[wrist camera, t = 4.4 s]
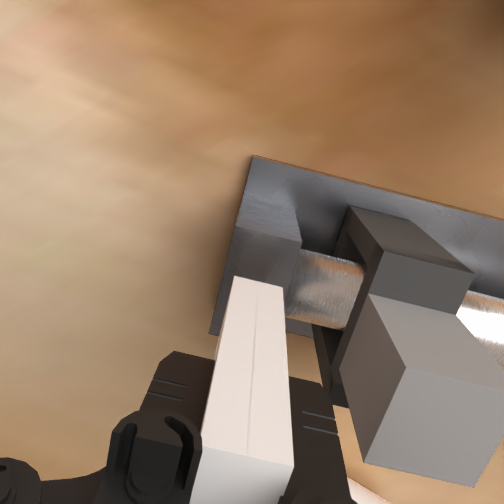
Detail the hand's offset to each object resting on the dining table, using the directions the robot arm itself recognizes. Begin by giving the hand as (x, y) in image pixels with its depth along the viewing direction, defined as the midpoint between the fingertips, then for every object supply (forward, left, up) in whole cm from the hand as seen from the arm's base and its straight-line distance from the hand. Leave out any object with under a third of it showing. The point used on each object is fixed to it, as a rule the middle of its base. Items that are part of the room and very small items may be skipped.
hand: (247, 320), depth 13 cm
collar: (+5, 0, -8) cm, 9 cm away
